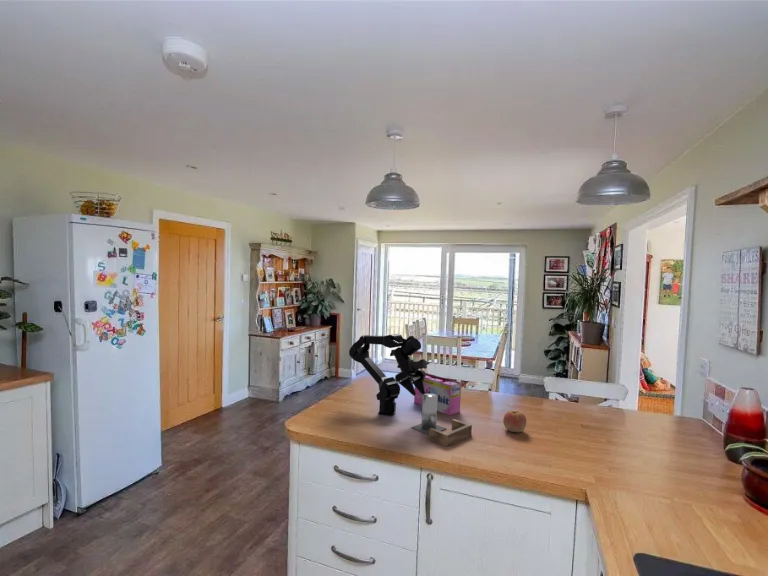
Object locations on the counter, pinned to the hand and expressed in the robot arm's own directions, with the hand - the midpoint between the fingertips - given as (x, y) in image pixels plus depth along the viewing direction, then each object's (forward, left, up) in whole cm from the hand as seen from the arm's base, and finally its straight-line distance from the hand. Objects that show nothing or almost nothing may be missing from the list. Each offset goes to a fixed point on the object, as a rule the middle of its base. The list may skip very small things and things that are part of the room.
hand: (419, 394), depth 165 cm
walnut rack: (+14, -9, -12) cm, 21 cm away
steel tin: (+5, -3, -12) cm, 13 cm away
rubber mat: (+5, -3, -12) cm, 14 cm away
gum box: (+4, +25, -13) cm, 29 cm away
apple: (+38, +7, -13) cm, 41 cm away
